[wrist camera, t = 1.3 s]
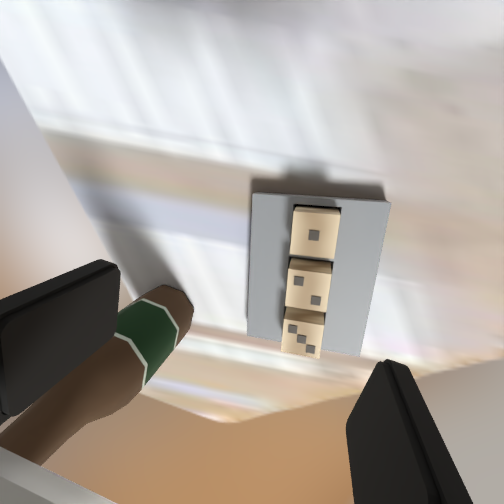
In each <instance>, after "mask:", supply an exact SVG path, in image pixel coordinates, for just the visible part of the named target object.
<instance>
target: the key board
mask: <svg viewBox="0 0 504 504" xmlns="http://www.w3.org/2000/svg"><path fill="white" fill-rule="evenodd" d="M295 204H305V205H319V206H333V207H340V211H339V213H340V215H341V216H340V222H339V229H338V236H337V243H336V249H335V256H334V259H329V258H320V257H311V256H303V255H294V254H290V245H291V234H292V223H293V212H294V209H295ZM390 207H391V203H390V202H388V201H386V200H372V199H356V198H340V197H325V196H309V195H294V194H278V193H263V192H256V193H253V195H252V220H251V245H250V270H249V295H248V320H247V336H252V337H257V338H262V339H268V340H273V341H278V342H282V334H283V323H284V316H285V307H286V306H285V301H286V290H287V279H288V268H289V264H290V256H292V257H301V258H309V259H318V260H327V261H332V266H331V272H332V276H331V283H330V290H329V297H328V303H327V310H326V312H325V314H324V330H323V337H322V344H321V350H326V351H332V352H337V353H342V354H348V355H353V356H358V357H360V352H361V348H362V343H363V338H364V333H365V328H366V323H367V319H368V314H369V309H370V304H371V299H372V294H373V290H374V285H375V280H376V275H377V270H378V265H379V261H380V256H381V251H382V246H383V241H384V236H385V232H386V227H387V222H388V217H389V212H390Z"/></svg>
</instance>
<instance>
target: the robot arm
mask: <svg viewBox="0 0 504 504" xmlns="http://www.w3.org/2000/svg"><path fill="white" fill-rule="evenodd" d="M120 275H121V273H120V270H119V269H118V267H117V265H116V264H114V263H111V262H108V261H105V260H102V259H100V260H96V261H94V262H91V263H89V264H87V265H84V266H81V267H79V268H77V269H74V270H72V271H69V272H67V273H64V274H62V275H59V276H57V277H55V278H53V279H50V280H47V281H45V282H43V283H40V284H37V285H35V286H33V287H30V288H28V289H25V290H23V291H20V292H18V293H15V294H13V295H10V296H8V297H6V298H3V299H1V300H0V425H1V424H2V423H4V422H5V421H6V420H7V419H9V418H10V417H11V416H16V415H18V414H20V413H21V412H22V411H24V410H25V409H26V408H28V407H29V406H30V405H31V404H32V403H34V402H35V401H36V400H37V399H39V398H40V397H41V396H42V395H43V394H45V393H46V392H47V391H48V390H50V389H51V388H52V387H53V386H54V385H56V384H57V383H58V382H59V381H60V380H62V379H63V378H64V377H65V376H67V375H68V374H69V373H70V372H71V371H73V370H74V369H75V368H76V367H77V366H79V365H80V364H81V363H82V362H84V361H85V360H86V359H87V358H88V357H90V356H91V355H92V354H93V353H94V352H96V351H97V350H98V349H99V348H101V347H102V346H103V345H104V344H105V343H107V342H108V341H109V340H110V339H111V338H112V337H113V336H114V334H115V332H116V328H117V315H118V302H119V289H120ZM346 437H347V445H348V454H349V462H350V471H351V478H352V487H353V496H354V504H473V502H472V500H471V498H470V496H469V494H468V492H467V489H466V487H465V485H464V483H463V481H462V479H461V477H460V475H459V473H458V471H457V468H456V466H455V464H454V462H453V460H452V458H451V456H450V454H449V452H448V450H447V447H446V445H445V443H444V441H443V439H442V437H441V435H440V433H439V431H438V428H437V427H436V424H435V422H434V420H433V418H432V416H431V414H430V412H429V410H428V407H427V405H426V403H425V401H424V399H423V397H422V395H421V393H420V391H419V389H418V386H417V384H416V382H415V380H414V378H413V376H412V374H411V372H410V370H409V368H408V366H406V365H404V364H401V363H398V362H395V361H392V360H389V359H386V360H385V361H384V362H381V361H380V362H378V363H377V364H376V366H375V368H374V370H373V372H372V374H371V376H370V378H369V380H368V381H367V383H366V385H365V387H364V389H363V391H362V393H361V395H360V397H359V399H358V400H357V403H356V404H355V406H354V408H353V410H352V412H351V414H350V416H349V418H348V420H347V423H346ZM0 504H117V503H115V502H113V501H111V500H109V499H107V498H105V497H103V496H101V495H98V494H97V493H94V492H92V491H90V490H88V489H86V488H84V487H82V486H80V485H78V484H76V483H74V482H72V481H70V480H68V479H66V478H64V477H62V476H60V475H58V474H56V473H54V472H52V471H50V470H47V469H45V468H43V467H41V466H39V465H37V464H35V463H33V462H31V461H29V460H27V459H25V458H23V457H21V456H19V455H16V454H14V453H12V452H10V451H8V450H6V449H4V448H2V447H0Z"/></svg>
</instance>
